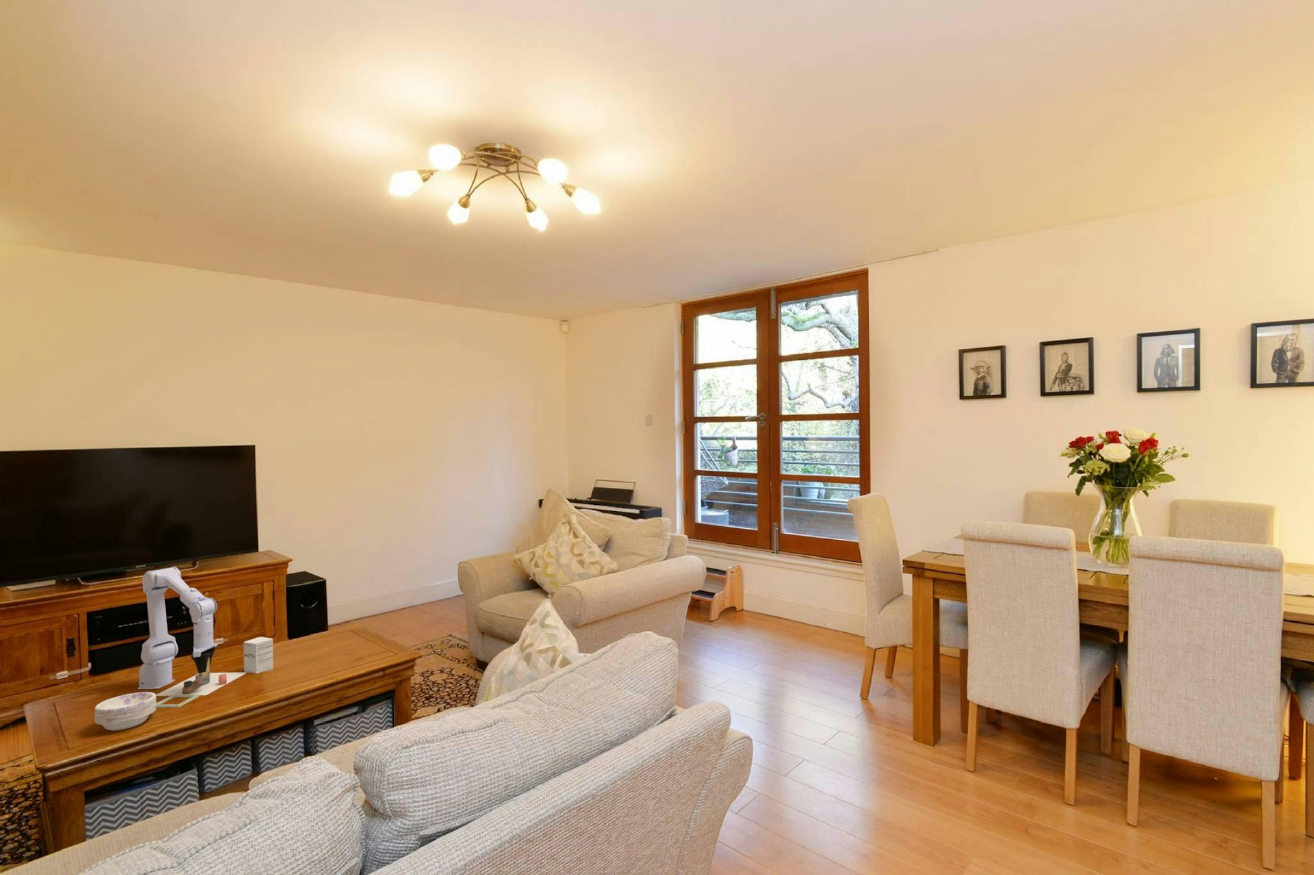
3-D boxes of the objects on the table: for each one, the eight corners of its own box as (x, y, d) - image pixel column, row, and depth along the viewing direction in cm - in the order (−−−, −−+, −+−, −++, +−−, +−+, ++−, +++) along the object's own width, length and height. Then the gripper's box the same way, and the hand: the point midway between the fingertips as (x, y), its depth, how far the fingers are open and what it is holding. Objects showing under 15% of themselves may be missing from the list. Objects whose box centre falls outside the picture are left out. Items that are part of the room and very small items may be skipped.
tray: (152, 710, 212) (152, 705, 212) (173, 698, 221) (173, 694, 221) (178, 709, 212) (178, 705, 212) (199, 698, 221) (199, 694, 221)
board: (153, 698, 222) (153, 695, 222) (199, 675, 244) (199, 673, 244) (206, 697, 222) (206, 695, 222) (247, 674, 244) (247, 672, 244)
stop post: (217, 685, 231) (217, 676, 231) (221, 682, 234) (221, 674, 234) (223, 685, 231) (223, 676, 231) (228, 682, 234) (228, 674, 234)
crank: (199, 681, 235) (199, 670, 235) (212, 680, 236) (212, 669, 236) (178, 694, 222) (178, 684, 222) (192, 693, 223) (192, 683, 223)
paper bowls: (154, 710, 212) (154, 687, 212) (158, 724, 201) (158, 699, 201) (94, 724, 201) (93, 700, 202) (95, 740, 190) (94, 714, 190)
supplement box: (243, 673, 245) (242, 641, 245) (261, 667, 252) (261, 636, 252) (256, 676, 242) (255, 643, 242) (274, 669, 249) (273, 637, 249)
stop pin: (196, 676, 224) (196, 660, 224) (203, 673, 227) (203, 657, 227) (205, 676, 224) (205, 660, 224) (211, 673, 227) (211, 657, 227)
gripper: (209, 637, 220) (210, 676, 220) (223, 626, 234) (223, 662, 234) (185, 640, 218) (186, 679, 218) (200, 628, 231) (201, 665, 231)
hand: (204, 670), depth 225 cm, fingers closed on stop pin, 3 cm apart
